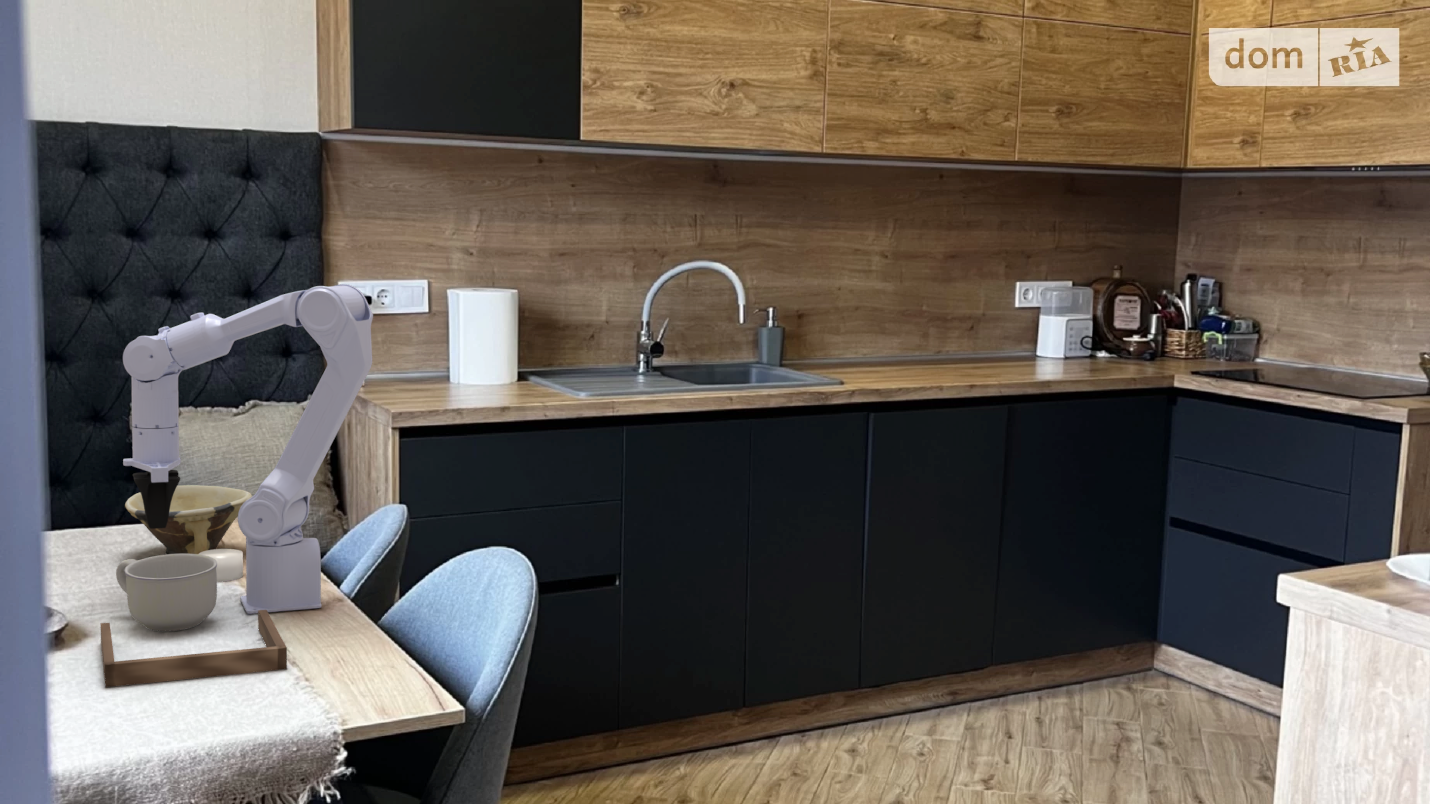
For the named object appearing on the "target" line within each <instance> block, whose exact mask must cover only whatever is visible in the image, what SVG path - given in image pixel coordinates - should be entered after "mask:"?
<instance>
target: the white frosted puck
mask: <svg viewBox="0 0 1430 804" xmlns="http://www.w3.org/2000/svg"><path fill="white" fill-rule="evenodd" d="M199 554H200V555H205V556H209V557H211V558H214V559H215V560H216V561H217V567H216V573H217V583H221V582H222V581H223V582H222V583H224V581H225V582H231V581H235V580H236V581H237V580H239V579H242V578H243V576H244V563H243V562H244V560H243V559H244V557H243V556H244V552H243V551H242V550H241V549H236V548H235V549H233V548H217V549H214V550H207V551H203V552H201V553H199Z"/></svg>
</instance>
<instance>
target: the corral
mask: <svg viewBox="0 0 1430 804" xmlns="http://www.w3.org/2000/svg"><path fill="white" fill-rule="evenodd" d="M257 620H258V621H257V624H258V625H257V630H258V629H259V630H258V633H259V634H260V636H261V635H262V637H263V639H262V640H264V641H263V643H264V642H265V643H264V645H265V644H266V645H265V647H255V648H244V649H235V650H221V651H212V652H200V653H191V654H189V653H188V654H181V655H180V654H179V655H171V656H170V655H169V656H159V657H148V658H139V659H138V658H136V659H129V660H117V661H116V660H115V655H114V649H113V648H114V646H113V638H112V631H111V630H112V629H111V625H110V622H101V623H100V648H101V661H102V668H103V669H102V670H103V679H104V687H105V688H113V687H114V688H115V687H122V686H123V687H124V686H130V685H131V686H133V685H134V686H135V685H142V684H143V685H144V684H151V683H163V682H173V681H182V680H183V681H184V680H193V679H202V678H203V679H204V678H211V677H213V678H214V677H221V676H231V675H232V676H233V675H242V674H252V673H262V672H270V671H281V670H283V671H284V670H287V669H288V662H287V660H288V656H287V655H288V652H287V651H288V647H287V646H286V644H285V641H284V639H283V638H282V636H281V634H280V633H279V631H278V630H279V629H277V627H276V625H275V623H274V621H273V619H272V617H271V615H270V614H269V612H267V610H258V613H257ZM262 637H261V638H262Z"/></svg>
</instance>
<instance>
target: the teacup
mask: <svg viewBox="0 0 1430 804" xmlns="http://www.w3.org/2000/svg"><path fill="white" fill-rule="evenodd" d="M216 567H217V561H216V560H215V559H214V558H211V557H209V556H205V555H200V554H160V555H159V554H158V555H155V556H150V557H149V556H148V557H145V558H142V559H135V558H128V559H125V560H122V561H121V562H120V563H119V564H118V565H117V566H116V569H115V577H116V581H117V584H118V585H119V587H120V588H121V590H122V591H123V592H124V593H125V594H126V597H127V605H128V607H127V608H128V610H129V613H130V615H131V617H132V618H133V619H134V620H135V621H136V622H137V623H139V624H140V625H142V626H143V627H144V628H146V629H148V630H149V631H154V632H163V633H164V632H178V631H185V630H188V629H192V628H194V627H196V626H198V625H200V624H201V623H202V622H203V621H204V620H205V619H206V618H208V617H209V616H210V615H211V614H212V613H213V611H214V609H215V607H216V604H217V598H218V597H217V595H218V585H217V584H218V582H217V573H216Z"/></svg>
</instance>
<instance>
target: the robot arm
mask: <svg viewBox="0 0 1430 804" xmlns="http://www.w3.org/2000/svg"><path fill="white" fill-rule="evenodd" d="M373 318H374V313H373V311H372V308H370V305H369V303H368V300H367V298H366V297H365V295H364V294H363V292H362V291H361V290H360V289H358V288H357V287H356V286H353V285H352V284H346V283H342V284H336V285H332V286H326V285H325V286H324V285H317V286H313V287H311V288H308V289H305V290H304V289H303V290H297V291H293V292H288V293H285V294H284V293H283V294H280V295H278V296H276V297H273V298H271V299H269V300H267V301H264V302H262V303H259V304H256V305H254V306H252V307H250V308H247V309H245V310H242V311H240V312H238V313H235V314H233V315H231V316H228V317H226V318H224V317H223V318H222V317H221V316H219V315H215V314H214V313H208V314H205V313H204V312H197V313H196V312H195V313H194V314H192V315H190V320H189V321H186V322H184V323H180V324H179V325H176V326H173V327H169V326H168V325H166V326H163V327H160V328H158V333H157V334H156V335H140V336H137V337H136V338H135V339H134V340H131V341H130V342H129V343H128V344H127V345H126V346H125V349H124V350H123V353H122V363H123V366H124V369H125V370H126V372H127V374H129V375H130V376H131V426H132V427H131V428H132V429H131V430H132V434H131V435H132V458H131V457H130V458H123V460H122V461H123V462H122V464H123V466H125V467H131V466H132V467H133V468H137V469H139V470H142V471H146V472H135V473H133V474H132V478H133V480H134V484H135V485H136V486H137V489H138V491H139V492H140V493H141V495H142V499H143V504H144V510H145V515H146V519H147V523H148V526H149V529H155V528H166V525H167V522H168V517H169V511H170V505H171V501H172V497H173V494H174V492H175V489H176V487H177V486H179V483H180V481H181V477H180V476H179V470H176V469H174V468H176V467H178V466H179V465H181V463H182V461H181V460H182V459H181V456H180V430H179V429H180V425H179V424H180V423H179V421H180V420H179V417H180V415H179V376H180V374H181V373H182V372H183V371H184V370H185V371H186V370H188V369H191V368H194V367H196V366H199V365H202V364H204V363H207V362H210V361H212V360H215V359H217V358H221V357H223V356H226V355H228V354H229V352H231V351H230V350H231V349H232V347H233V345H234V342H235V341H237V340H241V339H243V338H246V337H250V336H252V335H255V334H258V333H261V332H264V331H268V330H271V329H273V328H277V327H279V326H282V325H287V326H290V327H293V328H298V327H303V328H304V330H305V331H306V332H307V334H309V335H310V337H312V339H313V340H314V341H315V342H316V343H317V345H318V346H320V347H319V348H320V350H321V351H322V355H323V356H324V358H325V360H326V364H327V365H326V367H325V370H324V372H323V374H322V375H321V378H320V379H319V381H318V383H317V384H316V387H315V389H314V391H313V393H312V395H311V396H310V398H309V401H308V402H307V404H306V407H305V408H304V411H303V412H302V415H301V416H300V418H299V420H298V421H297V424H296V426H295V428H294V430H293V432H292V434H291V436H290V438H289V440H288V442H287V443H286V446H285V447H284V449H283V451H282V453H281V456H280V458H279V459H278V461H277V464H276V465H275V467H274V468H273V469H272V471H271V472H270V473H269V474H268V475H267V476H266V477H265V478H264V480H263V481H262V482H261V483H260V485H259V487H258V489H257V490H256V492H255V494H254V495H252V497H251V498H249V499H248V500H246V501H245V502H244V503H243V505H242V506H241V508H240V510H239V513H238V516H237V523H238V528H239V530H240V532H241V533H242V534H243V536H244V537H245V550H246V551H245V557H246V558H245V569H246V570H245V574H246V575H245V576H246V577H245V578H246V579H245V582H246V583H245V586H246V587H245V589H246V590H245V591H246V593H245V594H246V595H241V596H240V597H239V600H240V601H241V604H242V606H243V608H244V610H245V612H246V614H250V615H253V614H258V610H267V612H268V613H277V612H287V611H299V610H310V609H320V608H322V605H323V604H322V602H321V601H322V598H321V597H322V595H321V594H322V593H321V592H322V591H321V590H322V588H321V587H322V583H321V582H322V579H321V578H322V576H321V575H322V571H321V570H322V569H321V568H322V566H321V565H322V564H321V563H322V561H321V548H320V547H321V546H320V543H319V540H318V538H316V537H304V534H303V531H302V526H303V524H304V523H305V522H306V521H307V519H308V517H309V514H310V500H311V497H312V494H313V492H314V490H315V485H314V478H315V477H316V475H317V473H318V471H319V469H320V467H321V465H322V463H323V461H324V460H325V457H326V455H327V454H328V451H330V448H331V446H332V444H333V442H334V440H335V438H336V436H337V435H338V432H339V431H340V428H341V427H342V425H343V423H344V420H346V417H347V415H348V413H349V411H350V409H351V407H352V405H353V403H354V402H355V399H356V398H357V396H358V394H359V392H360V390H361V388H362V386H363V384H364V381H365V380H366V378H367V376H368V375H369V373H370V371H371V368H372V365H373V345H372V330H371V329H372V323H373Z"/></svg>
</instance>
